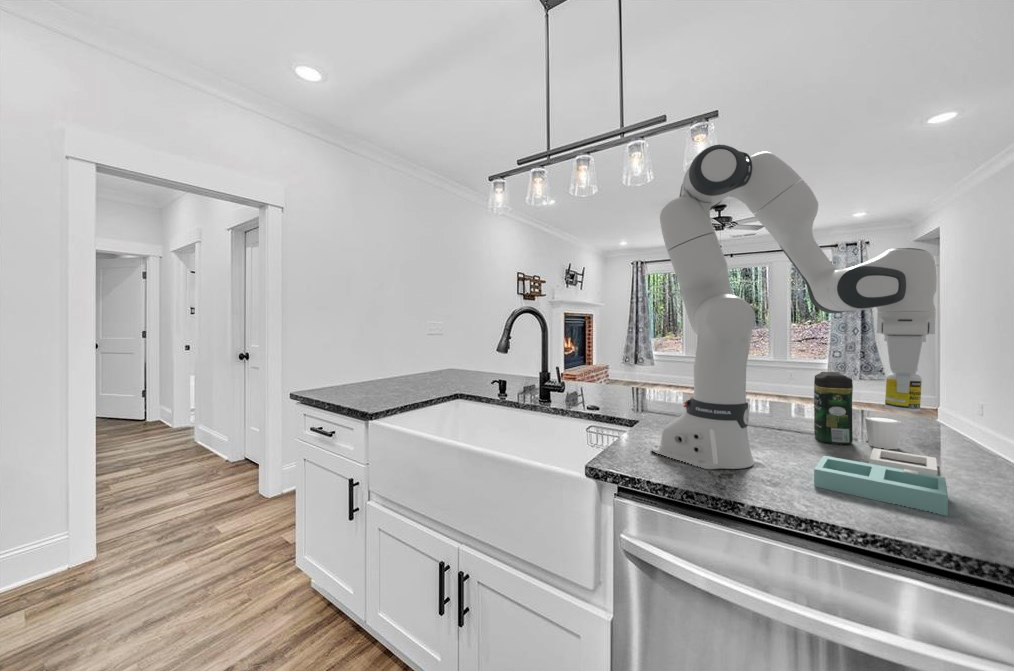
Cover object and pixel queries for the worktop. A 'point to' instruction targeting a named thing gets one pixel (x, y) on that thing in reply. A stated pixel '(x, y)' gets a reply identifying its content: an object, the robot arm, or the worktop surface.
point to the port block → (883, 484)
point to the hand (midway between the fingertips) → (902, 390)
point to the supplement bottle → (903, 394)
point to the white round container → (883, 432)
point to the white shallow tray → (929, 461)
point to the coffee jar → (833, 408)
